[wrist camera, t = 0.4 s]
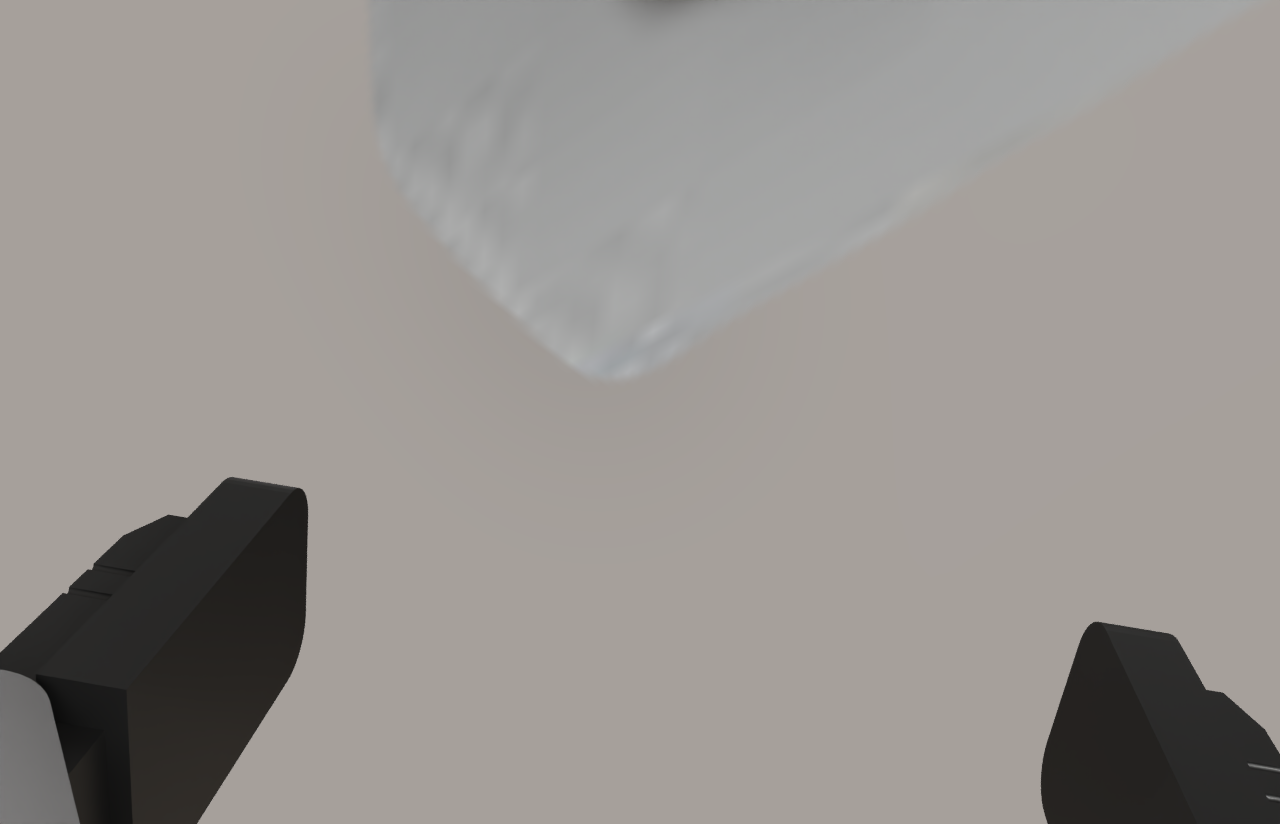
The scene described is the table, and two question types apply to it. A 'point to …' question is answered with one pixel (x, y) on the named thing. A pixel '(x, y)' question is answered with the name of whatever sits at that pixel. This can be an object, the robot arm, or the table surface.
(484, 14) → the table surface
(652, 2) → the table surface
